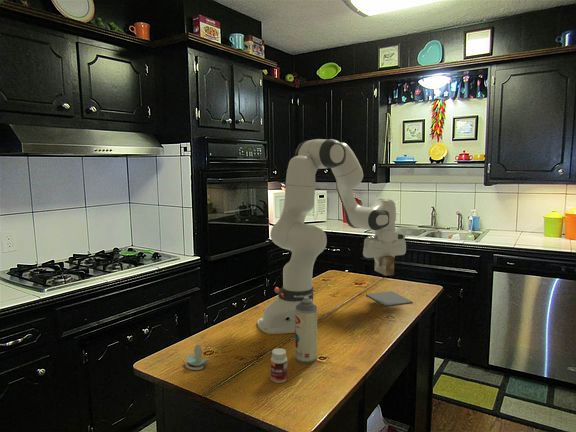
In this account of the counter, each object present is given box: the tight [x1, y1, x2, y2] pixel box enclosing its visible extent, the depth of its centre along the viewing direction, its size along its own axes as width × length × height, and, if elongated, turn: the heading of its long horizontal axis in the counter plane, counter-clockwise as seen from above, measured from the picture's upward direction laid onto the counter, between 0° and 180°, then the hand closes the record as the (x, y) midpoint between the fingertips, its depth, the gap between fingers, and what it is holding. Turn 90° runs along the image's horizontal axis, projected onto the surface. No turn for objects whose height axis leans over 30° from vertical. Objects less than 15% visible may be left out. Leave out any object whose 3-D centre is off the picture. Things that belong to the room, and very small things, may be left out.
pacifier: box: [184, 344, 210, 371], centre depth 126 cm, size 7×6×6 cm
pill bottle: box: [270, 347, 288, 384], centre depth 118 cm, size 5×5×8 cm
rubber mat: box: [365, 290, 414, 308], centre depth 187 cm, size 14×16×1 cm
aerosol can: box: [294, 296, 318, 365], centre depth 129 cm, size 7×7×20 cm
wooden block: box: [374, 256, 395, 277], centre depth 184 cm, size 4×9×8 cm, turn 20°
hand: (384, 265), depth 184 cm, fingers closed on wooden block, 4 cm apart
